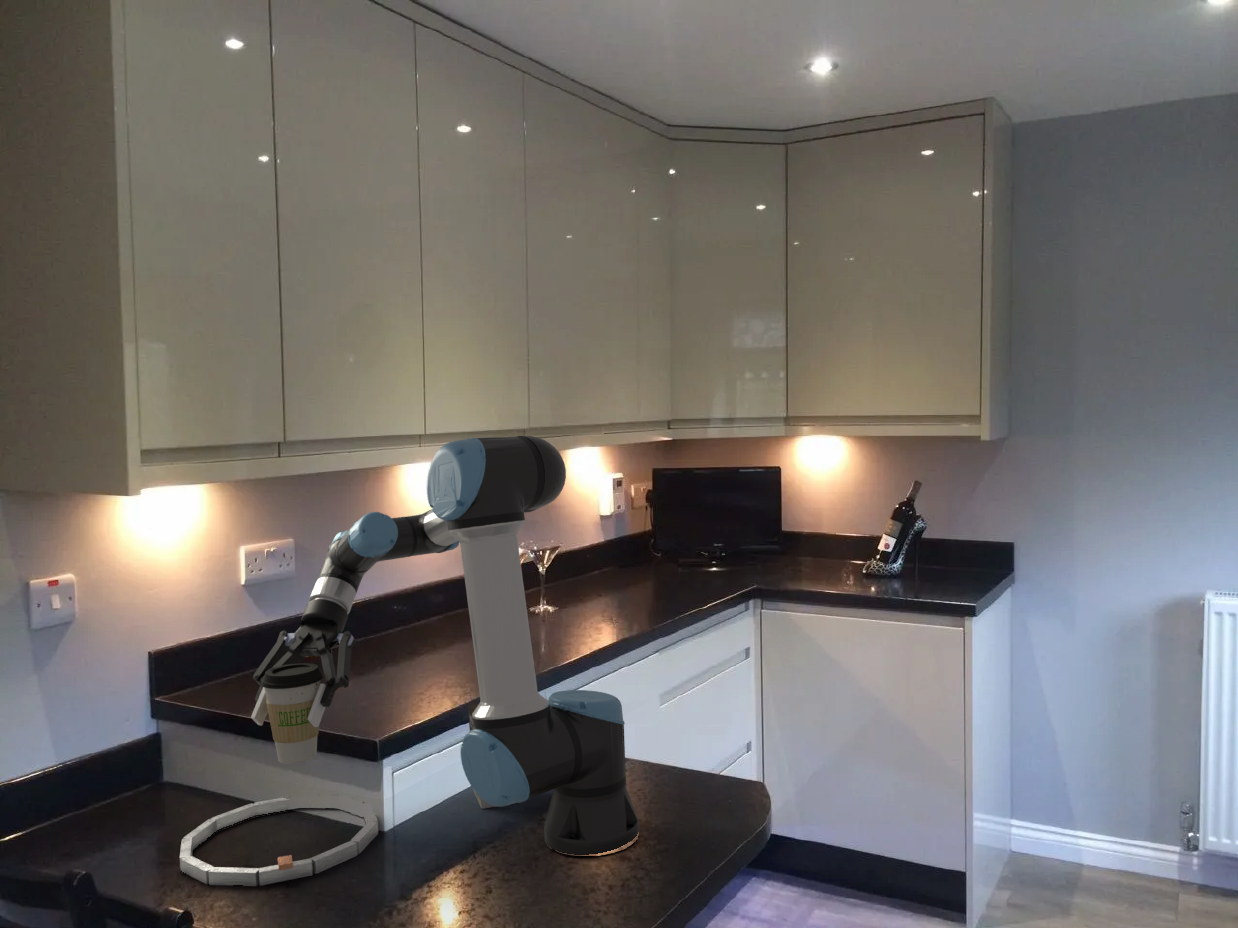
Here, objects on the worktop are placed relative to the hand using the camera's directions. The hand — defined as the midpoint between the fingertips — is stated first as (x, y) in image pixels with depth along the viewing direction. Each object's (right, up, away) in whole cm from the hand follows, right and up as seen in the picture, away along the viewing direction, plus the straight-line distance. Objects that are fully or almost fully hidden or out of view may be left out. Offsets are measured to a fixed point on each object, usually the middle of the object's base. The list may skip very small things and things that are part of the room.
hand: (284, 722), depth 165 cm
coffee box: (+33, -17, +13) cm, 39 cm away
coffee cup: (+1, -7, +3) cm, 8 cm away
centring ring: (0, -19, -2) cm, 19 cm away
